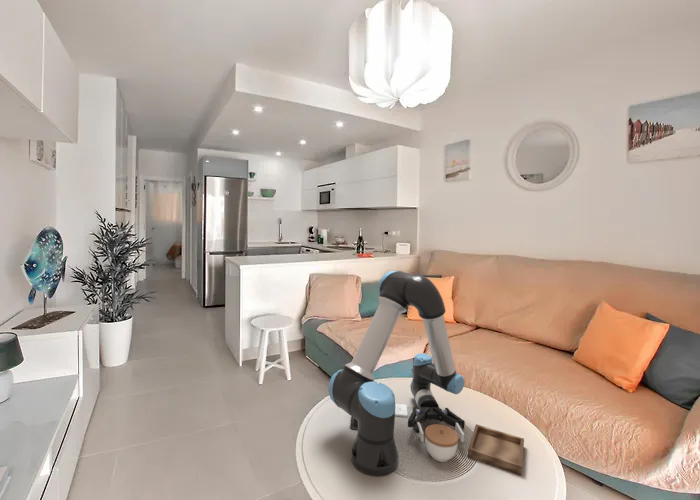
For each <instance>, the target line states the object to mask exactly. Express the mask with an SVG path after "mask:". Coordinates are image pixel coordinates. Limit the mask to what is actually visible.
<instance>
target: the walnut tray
mask: <svg viewBox="0 0 700 500" xmlns="http://www.w3.org/2000/svg"><path fill="white" fill-rule="evenodd" d="M524 443H525V438H523V437H521V436H516V435H513V434H510V433H506V432H503V431H501V430H497V429H492V428H490V427H487V426H483V425H480V424H477V423H476V424H475V426H474V430H473V432H472V436H471V439H470V441H469V444H468V448H467V458H469V459H472V460H473V461H474V460H475V461H477V462H480V463H482V464H486V465H488V466H492V467H495V468H497V469H499V470H503V471H505V472H508V473H511V474H514V475H517V476H520V477H522V473H523V460H524V458H523V457H524V447H525V445H524Z"/></svg>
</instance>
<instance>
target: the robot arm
mask: <svg viewBox="0 0 700 500" xmlns="http://www.w3.org/2000/svg"><path fill="white" fill-rule="evenodd" d="M377 287H378V289H377V291H378V294H379V296H378V301H379V304H378V307H377V309H376V311H375V312H374V315H373V317H372V319H371V321H370V322H369V325H368V328H367V329H366V331H365V333H364V335H363V337H362V339H361V342H360V344H359V346H358V348H357V350H356V351H355V354H354V356H353V358H352V360H351V362H348V363H345V365H344V367H343V369H339V370H337V372H335V373H333V374H332V375H331V377H330V379H329V382H328V388H327V389H328V391H327V392H328V395H329V398H330V400H331V401H332V402H333V403H334V404H335V405H336V406H337V408H338V409H339V408H340V409H341V410H343V411H344V412H345V413H347V415H349V416H352V417H353V418H355V419H356V420H357V421H358V430H357V434H356V437H355V440H354V442H353V445H352V449H351V453H350V454H351V459H350V460H351V463H352V465H353V467H355V469H357V470H358V471H359V472H360V473H363V474H366V475H369V476H374V477H376V476H377V477H379V476H386V475H389V474H391V473H393V472H394V471H395V470H396V469H397V467H398V463H399V452H398V449H397V445H396V441H395V437H394V435H395V418H396V416H395V409H396V404H397V403H396V396H395V393H394V391H393V390H392V388H390V387H389V386H388V385H386V384H385V383H381V382H377V381H375V378H374V371H375V369H376V367H377V365H378V363H379V361H380V359H381V357H382V355H383V352H384V350H385V348H386V346H387V343H388V342H389V339H390V338H391V335H392V333H393V331H394V329H395V326H396V325H397V323H398V321H399V319H400V316H401V314H404V313H406V312H407V311H408V308H409V307H410V306H411V307H414V308H415V309H416V310H417V313H418V316H419V317H420V318H421V319H422V321H423V325H424V329H425V334H426V338H427V342H428V346H429V350H430V354H431V355H430V354H428V353H416V354H415V355H414V358H413V364H412V366H413V367H412V368H413V369H412V370H413V371H412V380H411V382H410V385H409V387H410V392H411V394H412V396H413V398H414V400H415V402H416V403H415V404H416V405H417V407H415V406H413V407H412V412H411V413H410V416H409V418H408V421H407V427H408V428H409V429H410V428H412V430H413V431H415V434H417V435H418V437H419V440H420V441H421V442H424V441H425V432H424V431H423V428H422V424H423V423H424V422H426V421H427V420H429V421H432V420H435V421H438V422H440V423H442V422H443V423H445V424H446V425H449V427H451V428H452V427H453V428H454V431H455V432H456V433H457V434H458V439H460V442H461V443H464V442H465V433H464V430H465V425H466V424H465V423H466V422H465V420H464V419H462V418H461V417H460V416H458V415H457V414H455V413H454V412H452V411H451V410H450V409H449V408H448V407H445V408H444V409H442V408H440V406H439V404H438V402H437V399H436V398H435V396H434V394H433V392H432V389H431V384H432V385H434V386H436V387H438V388H440V389H442V390H444V391H446V392H448V393H450V394H454V395H459V394H460V393H462V391H463V389H464V386H465V379H464V378H465V377H463V375H461V374H460V373H457V371H456V366H455V362H454V358H453V352H452V348H451V344H450V343H451V342H450V339H449V334H448V329H447V326H446V325H447V324H446V320H445V313H446V306H445V302H444V299H443V297H442V295H441V293H440V291H439V289H438V287H437V286H436V285H435V284H434V282H432V280H431V279H429V278H427V277H426V276H424V275H420V274H416V273H410V272H404V271H401V270H391V271H388V272H386V273H384V275H383V276H381V278H380V280H379V282H378V286H377ZM417 408H418V409H417Z"/></svg>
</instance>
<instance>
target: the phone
mask: <svg viewBox="0 0 700 500" xmlns="http://www.w3.org/2000/svg"><path fill="white" fill-rule="evenodd" d="M350 416H351V415H350ZM349 428H350V429H351V430H353V431H358V421H357V420H356V419H355V418H353V417H352V416H351V417H350V425H349Z"/></svg>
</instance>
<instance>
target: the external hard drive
mask: <svg viewBox="0 0 700 500" xmlns="http://www.w3.org/2000/svg"><path fill="white" fill-rule="evenodd" d="M395 404H396V409H395V418H397V417H398V418H408V416H409V414H408V412H409V411H408V405H407V404H401V403H395ZM408 419H409V418H408Z"/></svg>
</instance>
